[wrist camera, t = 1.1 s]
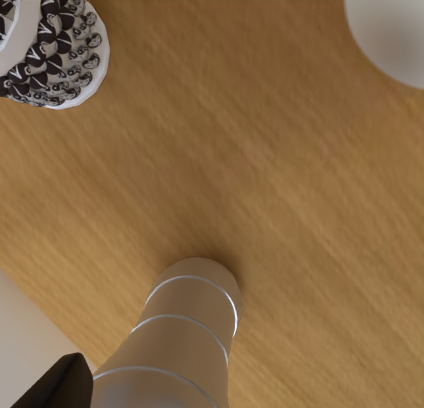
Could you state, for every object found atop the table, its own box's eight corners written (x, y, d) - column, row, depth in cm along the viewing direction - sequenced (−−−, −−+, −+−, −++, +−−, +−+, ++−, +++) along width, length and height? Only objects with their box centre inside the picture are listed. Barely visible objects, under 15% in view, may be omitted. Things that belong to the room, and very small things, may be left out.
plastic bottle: (251, 319, 25) (278, 975, 5) (169, 334, 25) (-90, 936, 6) (232, 241, 24) (174, 638, 4) (148, 258, 25) (-230, 654, 5)
